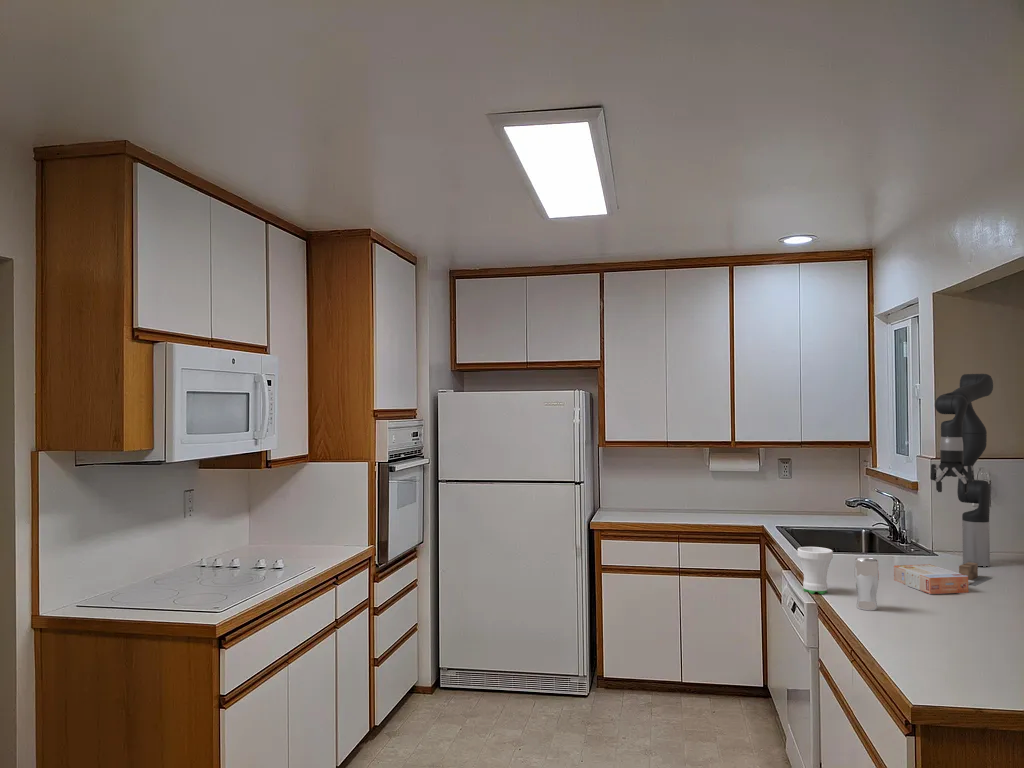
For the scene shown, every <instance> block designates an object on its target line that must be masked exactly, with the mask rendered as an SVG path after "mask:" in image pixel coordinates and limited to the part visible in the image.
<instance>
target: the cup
mask: <svg viewBox="0 0 1024 768" xmlns="http://www.w3.org/2000/svg"><path fill="white" fill-rule="evenodd" d="M797 557H798V558H799V561H800V563H801V567H802V570H803V582H802V585H803V586H802V589H803V592H804V593H809V594H810V595H814V594H816V593H818V594H819V595H824V594H827V593H828V582H827V580H828V578H827V577H828V571H829V567H830V563H831V562H832V560H833V557H834V554H833V550H832V549H830V548H826V547H821V546H820V547H819V546H801V547H800V546H799V547H798V548H797Z"/></svg>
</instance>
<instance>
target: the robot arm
mask: <svg viewBox="0 0 1024 768" xmlns="http://www.w3.org/2000/svg"><path fill="white" fill-rule="evenodd" d="M993 390H994V381H993V378H992V376H991V375H989V374H987V373H964V374H962V375H961V377H960V379H959V387H958V388H956V389H954V390H953V391H951V392H948V393H943V394H941V395H939V396H937V398H936V399H935V402H934V407H935V410H936V411H937V412H938V413H939V414H941V415H954V417H953V418H952V419H950V420H944V421H942V422H941V424H940V441H939V443H940V445H939V450H940V453H939V454H940V457H939V460H940V463H939V464H937V463H932V464H931V465H930V480H931V481H934V482H935V485H936V486H935V488H936V489H935V490H936V491H937V493H942V491H943V482H942V481H943V480H944V478H946V477H954V478H957V479H958V480H957V499H958V500H959V502H961V503H966V504H976V505H977V504H978V505H977V508H975V509H973V510H969V511H965V512H963V513H962V516H961V517H962V518H961V519H962V520H961V522H962V526H961V528H962V565H963V564H965V563H968V562H971V563H978V566H983V567H982V568H985V567H986V566H988V567H991V561H990V559H991V557H990V555H991V553H990V551H991V549H990V548H991V547H990V539H991V538H990V506H991V505H990V503H991V502H990V501H991V485H990V483H989V481H987V480H984V479H983V480H982V479H975V473H974V471H975V470H974V465H975V464H976V463H977V461H978V460H979V458H981V456H982V455H983V453H984V452H985V451H986V448H987V428H986V426H985V424H984V423H983V421H982V420H981V418H980V417H979V416H978V414H977V413H976V411H975V409H974V407H973V403H972V402H974V401H977V400H979V399H981V398H984V397H988V396H990V395H991V394H992V392H993ZM939 469H940V471H941V472H940V473H939V475H937V470H939ZM986 568H987V567H986Z"/></svg>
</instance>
